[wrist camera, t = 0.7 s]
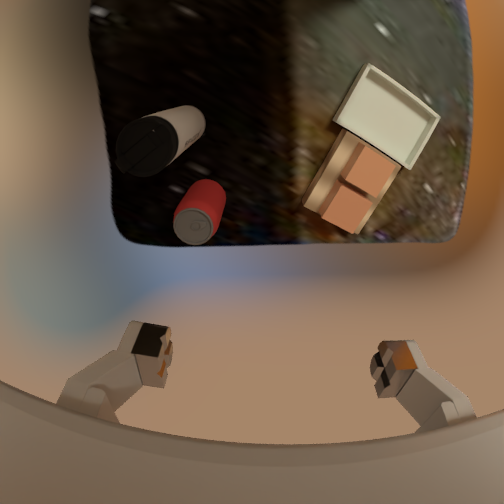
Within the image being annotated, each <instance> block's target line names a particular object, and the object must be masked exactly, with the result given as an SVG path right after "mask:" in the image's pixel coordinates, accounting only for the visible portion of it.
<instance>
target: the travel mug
mask: <svg viewBox="0 0 504 504" xmlns="http://www.w3.org/2000/svg"><path fill="white" fill-rule="evenodd" d="M205 126H206V122H205V118H204V115H203V114H202V112H201V111H200V110H199V109H197V108H196V107H194V106H190V105H185V106H180V107H176V108H172V109H168V110H165V111H161V112H158V113H154V114H151V115H148V116H144V117H142V118H139V119H136V120H134V121H132V122H130V123H129V124H127V125H126V126H125V127H124V128H123V129H122V131H121V132H120V133H119V136H118V138H117V141H116V156H117V159H116V160H115V161H114V162H115V163H116V165H117V166H118V168H119V169H120V170H121V172H122V173H123V174H124V173H125V172H126V171H127V172H128V173H130V174H132V175H134V176H138V177H148V176H152V175H155V174H157V173H159V172H160V171H161V170H163V169H164V168H165V167H166V166H167V165H169V164H170V163H171V162H172V161H173V160H174V159H176V158H177V157H178V156H179V155H180V154H181V153H182V152H183V151H185V150H186V149H187V148H188V147H189V146H190V145H192V144H193V143H194V142H195V141H196V140H197V139H199V138H200V137H201V136H202V134H203V132H204V130H205Z"/></svg>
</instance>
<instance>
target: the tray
mask: <svg viewBox="0 0 504 504" xmlns="http://www.w3.org/2000/svg"><path fill="white" fill-rule="evenodd" d="M440 118H441V117H440V116H439V115H438V114H436V113H435V112H434V111H433V110H432V109H431V108H429V107H428V106H427V105H426V104H425V103H423V102H422V101H421V100H420V99H418V98H417V97H416V96H414V95H413V94H412V93H411V92H409V91H408V90H407V89H405V88H404V87H403V86H401V85H400V84H399V83H397V82H396V81H395V80H393V79H392V78H390V77H389V76H387V75H386V74H385V73H383V72H382V71H380V70H379V69H377V68H376V67H374V66H373V65H371V64H370V63H366V64H363V66H362V68H361V70H360V72H359V73H358V75H357V77H356V79H355V81H354V82H353V84H352V86H351V88H350V89H349V91H348V93H347V95H346V97H345V98H344V100H343V102H342V104H341V106H340V107H339V109H338V111H337V113H336V114H335V116H334V118H333V120H332V121H334V122H336V123H338V124H339V125H341V126H343V127H344V128H346V129H348V130H350V131H351V132H353V133H354V134H356V135H358V136H359V137H361V138H363V139H364V140H366V141H367V142H369V143H370V144H372V145H373V146H375V147H377V148H378V149H380V150H381V151H383V152H384V153H386V154H387V155H389V156H390V157H391V158H393V159H394V160H396V161H397V162H399V163H400V164H401V165H403V166H404V167H406V168H407V169H409V170H411V168H412V166H413V165H414V163H415V161H416V160H417V158H418V156H419V155H420V153H421V151H422V150H423V148H424V146H425V144H426V143H427V141H428V139H429V137H430V136H431V134H432V132H433V130H434V129H435V127H436V125H437V123H438V121H439V119H440Z"/></svg>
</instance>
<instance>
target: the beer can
mask: <svg viewBox="0 0 504 504" xmlns="http://www.w3.org/2000/svg"><path fill="white" fill-rule="evenodd" d="M225 202H226V195H225V191H224V190H223V188H222V187H221V186H220V185H219V184H218V183H217V182H215V181H213V180H208V179H203V180H199V181H197V182H195V183H194V184H193V185H192V186H191V187H190V188H189V190H188V191H187V193H186V194H185V196H184V197H183V199H182V200H181V202H180V203H179V205H178V207H177V208H176V211H175V213H174V224H173V227H174V231H175V233H176V235H177V237H178V238H179V239H181V240H182V241H183V242H185V243H187V244H191V245H200V244H203V243H205V242H206V241H208V240H209V239H210V238H211V237H212V236H213V235H214V234H215V232H216V231H217V229H218V227H219V223H220V220H221V216H222V213H223V209H224V206H225Z"/></svg>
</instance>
